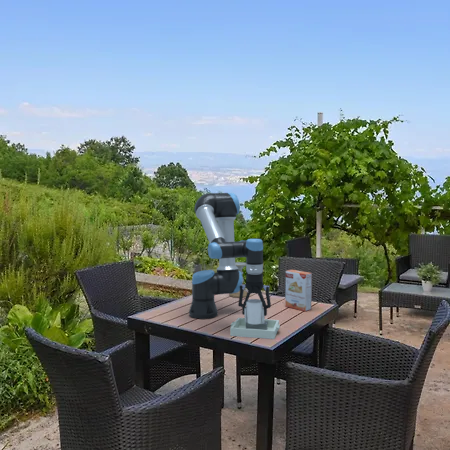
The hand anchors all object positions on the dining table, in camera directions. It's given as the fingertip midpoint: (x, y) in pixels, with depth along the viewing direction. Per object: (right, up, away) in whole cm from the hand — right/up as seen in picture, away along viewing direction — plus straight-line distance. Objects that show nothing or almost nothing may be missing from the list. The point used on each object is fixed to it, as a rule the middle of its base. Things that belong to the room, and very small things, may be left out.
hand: (254, 321), depth 216 cm
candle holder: (-5, +1, +76) cm, 76 cm away
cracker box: (+27, -2, +46) cm, 54 cm away
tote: (+1, -6, +3) cm, 7 cm away
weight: (+2, -5, +7) cm, 9 cm away
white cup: (0, 0, 0) cm, 0 cm away
